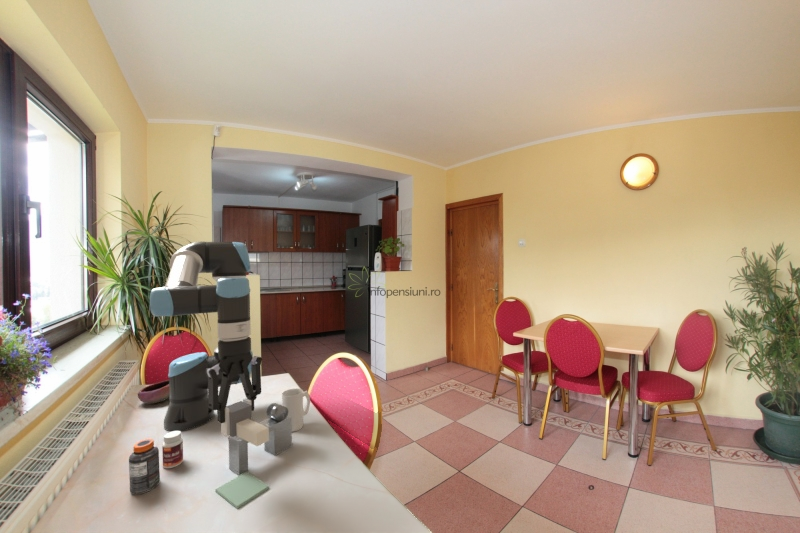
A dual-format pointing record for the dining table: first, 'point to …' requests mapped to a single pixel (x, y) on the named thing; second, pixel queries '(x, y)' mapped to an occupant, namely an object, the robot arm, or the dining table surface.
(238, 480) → the mat
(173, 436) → the pill bottle
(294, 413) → the mug
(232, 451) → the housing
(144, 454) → the pill bottle
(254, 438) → the plug
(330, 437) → the dining table surface
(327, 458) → the dining table surface
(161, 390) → the bowl
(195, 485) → the dining table surface
